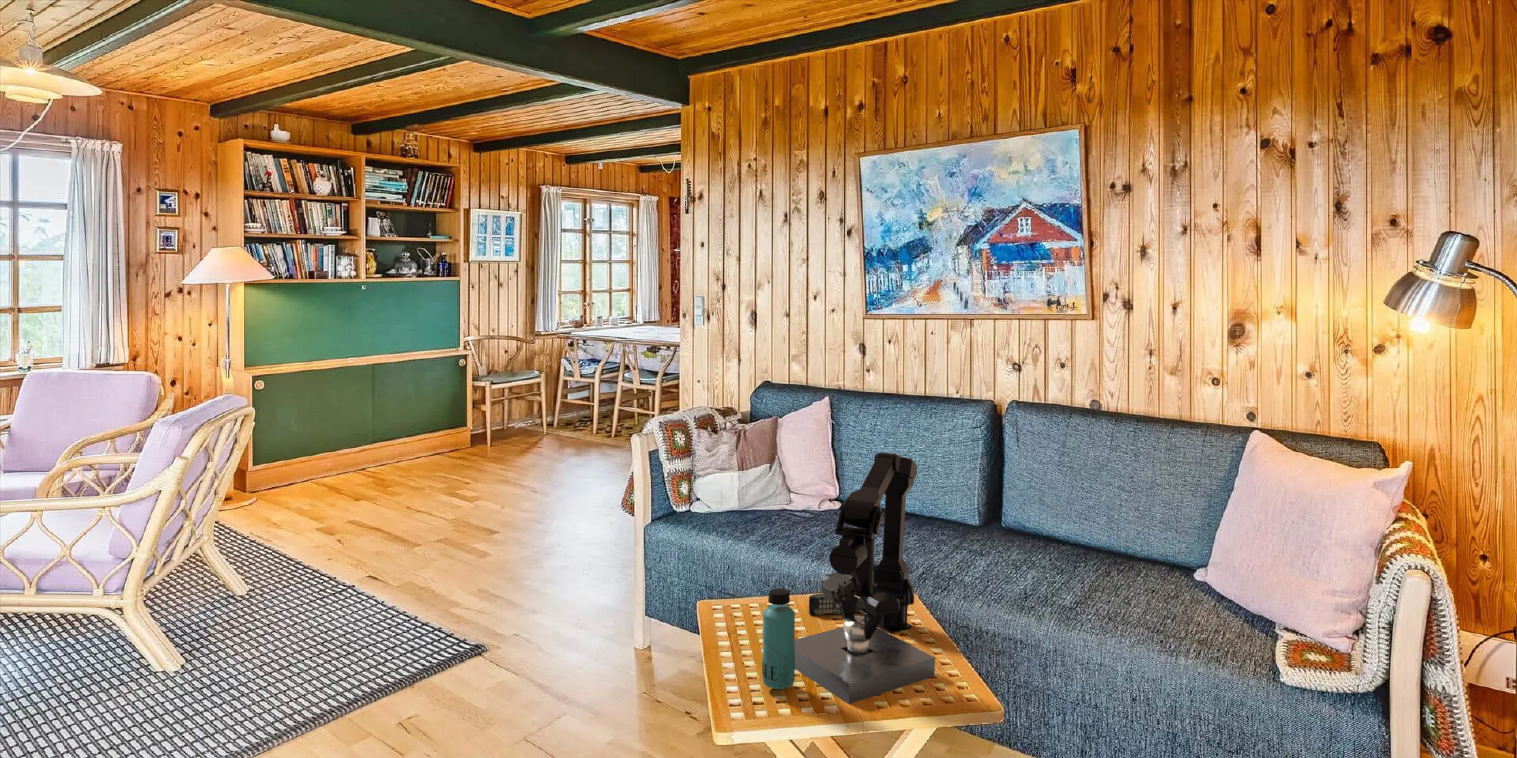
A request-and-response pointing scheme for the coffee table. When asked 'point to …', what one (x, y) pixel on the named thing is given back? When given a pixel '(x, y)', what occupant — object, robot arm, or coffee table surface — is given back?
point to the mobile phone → (828, 605)
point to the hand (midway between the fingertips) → (858, 633)
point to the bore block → (861, 664)
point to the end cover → (856, 636)
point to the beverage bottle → (778, 641)
